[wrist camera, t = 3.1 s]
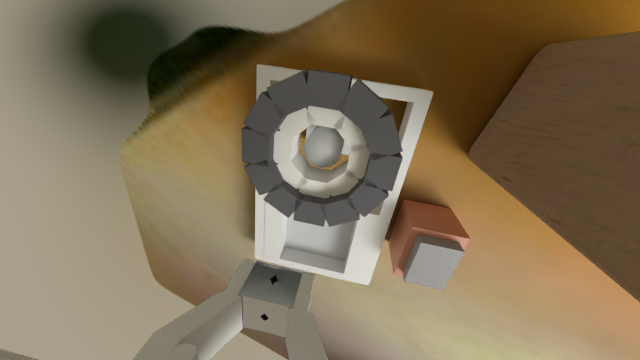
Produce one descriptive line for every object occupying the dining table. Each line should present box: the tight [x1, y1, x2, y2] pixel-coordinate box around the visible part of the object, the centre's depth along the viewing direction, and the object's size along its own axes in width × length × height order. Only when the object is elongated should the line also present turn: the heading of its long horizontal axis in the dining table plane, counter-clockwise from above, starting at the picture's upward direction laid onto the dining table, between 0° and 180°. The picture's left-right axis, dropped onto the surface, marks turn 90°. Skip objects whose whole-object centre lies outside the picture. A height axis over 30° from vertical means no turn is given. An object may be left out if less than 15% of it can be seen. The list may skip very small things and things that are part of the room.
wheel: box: [242, 70, 403, 227], centre depth 14 cm, size 9×9×3 cm
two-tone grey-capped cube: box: [389, 199, 470, 290], centre depth 23 cm, size 6×5×6 cm
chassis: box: [255, 64, 434, 285], centre depth 22 cm, size 22×14×9 cm, turn 172°
